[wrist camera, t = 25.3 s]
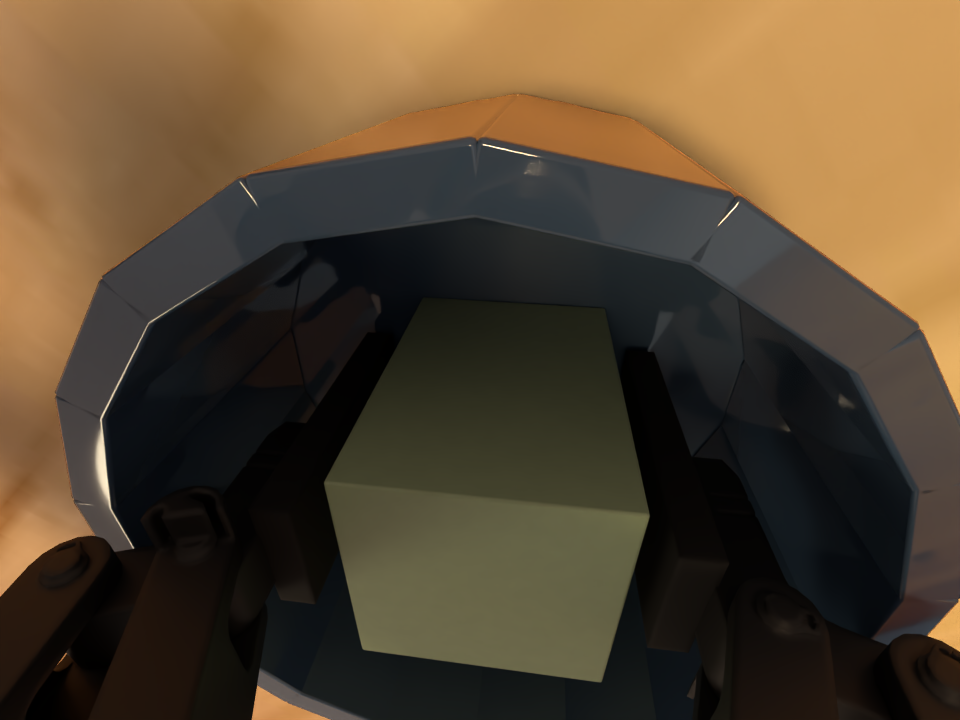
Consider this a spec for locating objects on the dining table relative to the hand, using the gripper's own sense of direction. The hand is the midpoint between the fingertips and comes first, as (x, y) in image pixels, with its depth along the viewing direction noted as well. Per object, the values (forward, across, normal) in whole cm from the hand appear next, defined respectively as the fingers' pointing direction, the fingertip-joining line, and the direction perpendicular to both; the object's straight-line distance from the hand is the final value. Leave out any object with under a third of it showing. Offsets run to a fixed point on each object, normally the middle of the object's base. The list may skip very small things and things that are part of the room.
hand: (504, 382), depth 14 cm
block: (0, 0, 0) cm, 0 cm away
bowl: (+1, 0, 0) cm, 1 cm away
